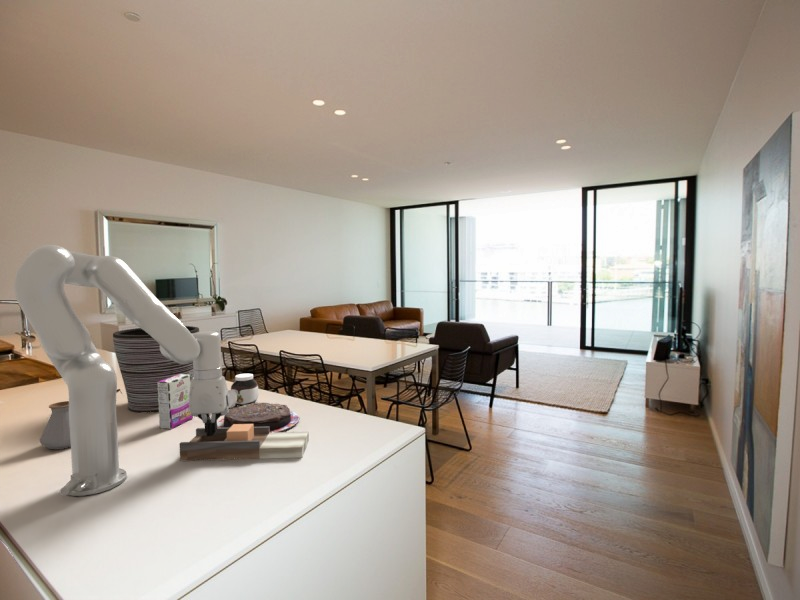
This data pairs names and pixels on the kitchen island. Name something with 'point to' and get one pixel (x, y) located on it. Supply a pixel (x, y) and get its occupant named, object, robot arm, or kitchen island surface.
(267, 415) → the chocolate cake
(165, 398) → the candy bar box
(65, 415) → the coffee pot
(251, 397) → the spread jar
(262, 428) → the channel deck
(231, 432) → the block
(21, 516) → the kitchen island surface
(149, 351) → the planter pot
